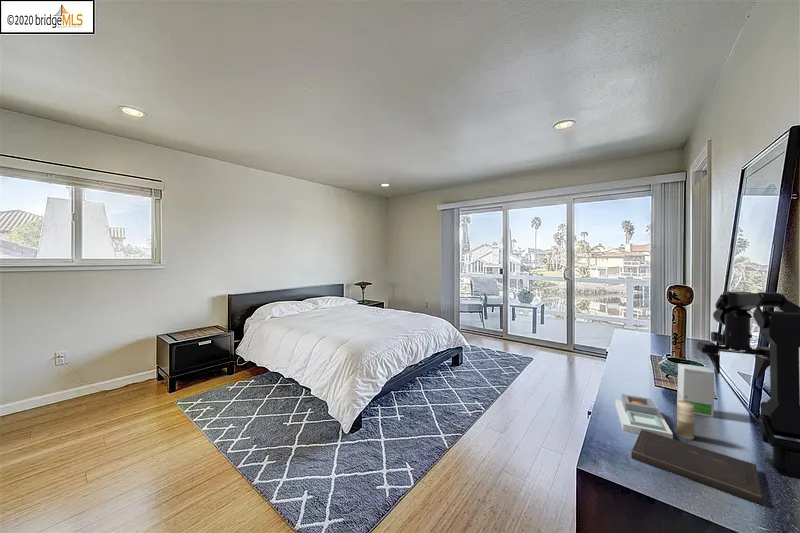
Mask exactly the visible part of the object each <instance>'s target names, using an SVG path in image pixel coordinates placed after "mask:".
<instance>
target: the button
mask: <svg viewBox="0 0 800 533" xmlns="http://www.w3.org/2000/svg"><path fill="white" fill-rule="evenodd" d="M630 403H635V404H641V405H646V404H644V403H642V402H638V401H631V402H630Z"/></svg>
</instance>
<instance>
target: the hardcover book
mask: <svg viewBox="0 0 800 533" xmlns="http://www.w3.org/2000/svg"><path fill="white" fill-rule="evenodd" d="M637 436H638V437H637V438H636V441H635V443H634V445H633V447H632V450H631V452H630V453H631V455H630V456H631V459H632V460H635V461H638V462H640V463H641V464H642V463H643V464H646V465H649V466H650V467H654V468H656V469H659V470H662V471H664V470H665V472H667V471H668V473H670V472H672V473H671V474H673V473H674V474H673V475H675V474H677V475H676V476H678V475H680V476H679V477H681V476H683V477H682V478H684V477H685V478H684V479H686V478H688V479H687V480H689V479H690V480H689V481H691V482H694V481H695V483H697V482H698V483H697V484H700V483H701V484H700V485H703V484H704V485H703V486H705V485H707V486H706V487H708V486H709V487H708V488H711V487H712V488H711V489H714V488H715V489H714V490H716V489H717V490H716V491H719V490H720V492H722V491H723V492H722V493H725V492H726V493H725V494H727V493H729V494H728V495H730V494H731V495H730V496H733V497H736V498H738V499H742V500H744V501H746V500H747V502H749V503H752V502H753V504H755V503H756V504H755V505H757V504H759V505H758V506H760V505H761V507H762V506H763V494H762V489H761V484H760V478H759V473H758V468H757V464H756V463H753V462H749V461H746V460H743V459H739V458H737V457H733V456H729V455H726V454H723V453H720V452H717V451H713V450H710V449H706V448H704V447H703V448H702V447H700V446H697V445H693V444H691V443H690V444H689V443H687V442H684V441H681V440H678V439H674V438H673V439H671V438H668V437H664V436H661V435H658V434H655V433H651V432H648V431H645V430H641V432H640V434H638V435H637Z"/></svg>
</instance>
